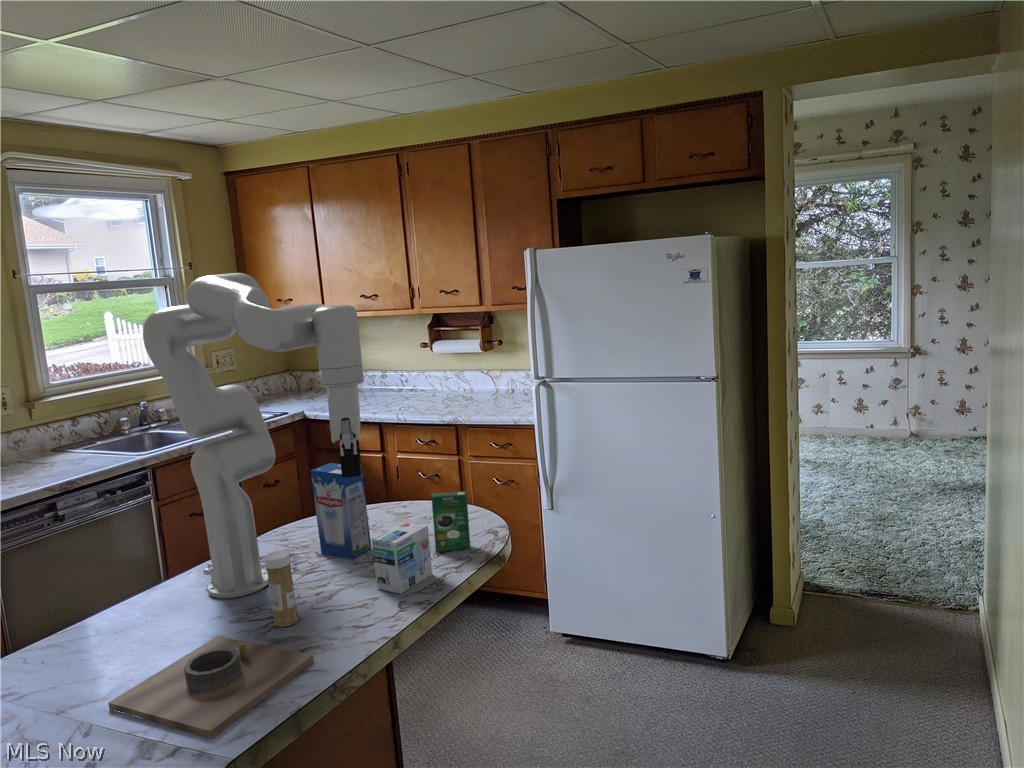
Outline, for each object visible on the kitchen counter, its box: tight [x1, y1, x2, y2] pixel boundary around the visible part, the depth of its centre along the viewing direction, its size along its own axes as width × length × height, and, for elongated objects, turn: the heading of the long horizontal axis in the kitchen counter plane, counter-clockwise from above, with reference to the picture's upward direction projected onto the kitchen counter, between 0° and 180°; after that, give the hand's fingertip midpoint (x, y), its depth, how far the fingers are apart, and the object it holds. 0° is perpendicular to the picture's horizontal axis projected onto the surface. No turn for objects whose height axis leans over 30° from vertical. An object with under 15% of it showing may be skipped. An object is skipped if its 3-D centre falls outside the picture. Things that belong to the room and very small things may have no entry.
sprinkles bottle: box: [264, 550, 299, 628], centre depth 145 cm, size 5×5×14 cm
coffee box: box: [431, 490, 471, 553], centre depth 175 cm, size 8×3×13 cm, turn 94°
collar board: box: [108, 635, 314, 739], centre depth 126 cm, size 22×22×4 cm
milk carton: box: [309, 462, 373, 561], centre depth 178 cm, size 10×6×20 cm, turn 58°
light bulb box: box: [371, 521, 433, 595], centre depth 159 cm, size 11×7×11 cm, turn 148°
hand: (351, 468), depth 141 cm, fingers open, 9 cm apart
